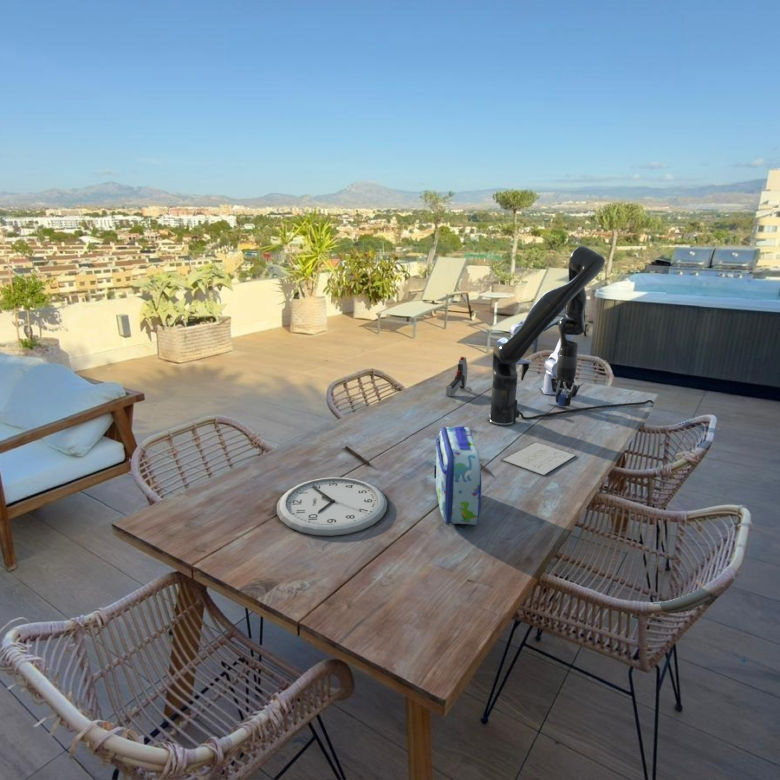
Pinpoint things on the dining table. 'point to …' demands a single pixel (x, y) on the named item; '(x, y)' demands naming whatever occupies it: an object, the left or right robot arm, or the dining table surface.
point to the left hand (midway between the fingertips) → (562, 404)
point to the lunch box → (458, 476)
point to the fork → (483, 468)
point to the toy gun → (458, 378)
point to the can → (561, 400)
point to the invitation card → (539, 458)
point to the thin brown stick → (357, 455)
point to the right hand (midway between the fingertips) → (513, 379)
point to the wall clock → (331, 506)
